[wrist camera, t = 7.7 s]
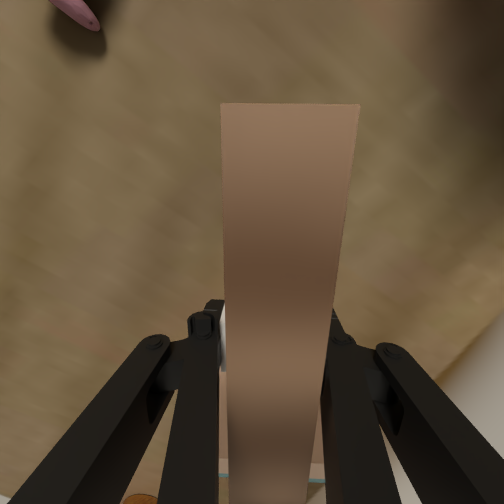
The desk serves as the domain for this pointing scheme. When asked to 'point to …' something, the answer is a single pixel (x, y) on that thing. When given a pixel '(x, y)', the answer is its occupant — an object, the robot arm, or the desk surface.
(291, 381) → the wooden plank
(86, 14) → the video game controller
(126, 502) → the disposable coffee cup
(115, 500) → the robot arm
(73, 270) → the desk surface
